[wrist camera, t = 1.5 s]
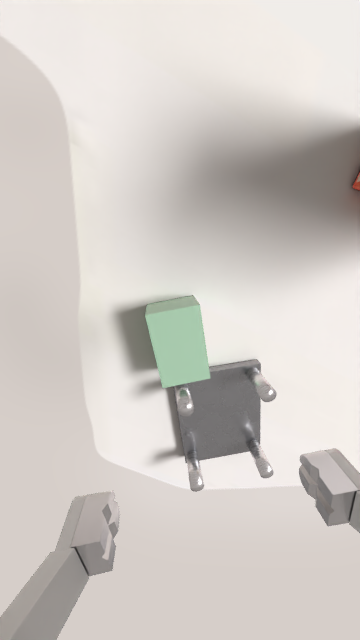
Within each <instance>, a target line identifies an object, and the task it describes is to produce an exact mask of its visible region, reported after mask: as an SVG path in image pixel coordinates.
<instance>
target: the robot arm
mask: <svg viewBox="0 0 360 640" xmlns="http://www.w3.org/2000/svg"><path fill="white" fill-rule="evenodd" d="M300 462H301V463H302V465H301V466H300V468H299V475H300V479H301V482H302V484H303V486H304V488H305V490H306V492H307V493H308V494H309V495H310V496H311V497H313V498H314V499H315V505H316V508H317V509H318V511H319V513H320V514H321V516H322V518H323V519H324V521H325V523H326V524H327V526H332V525H338V524H344V523H349V524H350V525H351V526H352V527H353V528H354V529H356V530H357V531H358V532H359V533H360V473H359V472H358V471H357V470H356V469H355V468H354V466H353V465H352V464H351V463H350V462H349V461H348V460H347V459H346V458H345V457H344V455H343V454H342V453H341V452H340V451H339V450H337V449H334V448H333V449H328V450H322V451H317V452H312V453H307V454H302V455H301V456H300ZM114 498H115V494H114V492H113V490H112V491H107V492H101V493H95V494H90V495H83V496H78V497H75V498H74V500H73V501H72V503H71V506H70V509H69V512H68V515H67V518H66V521H65V523H64V526H63V529H62V532H61V535H60V538H59V541H58V543H57V546H56V549H55V551H54V552H51V553H50V554H49V555H48V556H47V558H46V559H45V560H44V562H43V563H42V564H41V565H40V567H39V568H38V569H37V571H36V572H35V573H34V574H33V576H32V577H31V578H30V580H29V581H28V582H27V583H26V585H25V586H24V587H23V589H22V590H21V591H20V593H19V594H18V595H17V596H16V598H15V599H14V600H13V602H12V603H11V604H10V606H9V607H8V608H7V609H6V611H5V612H4V613H3V615H2V616H1V617H0V640H56V639H57V637H58V636H59V634H60V632H61V630H62V628H63V626H64V624H65V622H66V621H67V619H68V617H69V615H70V613H71V611H72V609H73V607H74V606H75V604H76V602H77V600H78V598H79V596H80V594H81V592H82V591H83V589H84V587H85V585H86V583H87V581H88V579H89V577H88V576H92V575H96V574H101V573H105V572H109V571H112V569H113V562H114V556H115V548H116V546H115V543H114V540H113V539H114V537H115V535H116V534H117V532H118V527H119V506H118V503H117V502H116V501H114Z"/></svg>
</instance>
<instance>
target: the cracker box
mask: <svg viewBox="0 0 360 640" xmlns="http://www.w3.org/2000/svg"><path fill="white" fill-rule="evenodd" d="M352 188H354V189H357V190H359V191H360V172H359V174H358V176H357V178H356V180H355V182H354V184H353V186H352Z"/></svg>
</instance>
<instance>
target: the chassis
mask: <svg viewBox="0 0 360 640" xmlns="http://www.w3.org/2000/svg"><path fill="white" fill-rule="evenodd" d="M209 372H210V379H205V380H200V381H195V382H191V383H186V384H181V385H176V386H173V387H174V393H175V399H176V405H177V412H178V418H179V424H180V430H181V436H182V442H183V448H184V455H185V461H186V463H187V466H188V473H189V481H190V488H191V490H192V491H200V490H202V489H203V487H204V484H203V479H202V474H201V469H200V463H199V461H200V460H205V459H210V458H216V457H221V456H227V455H232V454H237V453H243V452H248V451H250V453H251V455H252V457H253V459H254V462H255V464H256V466H257V468H258V471H259V473H260V475H261V477H262V478H269V477H271V476H272V475H273V470H272V468H271V466H270V464H269V462H268V460H267V458H266V456H265V454H264V452H263V450H262V448H261V446H260V397H261V399H262V400H263V401H264V402H270V401H272V400H274V399H275V397H276V391H275V390H274V389H273V388H272V386H271V385H270V384H269V383H268V382H267V380H266V379H265V378H264V377H263V375H262V374H261V364H260V362H259V361H258V360H257V359H256V360H250V361H244V362H238V363H232V364H225V365H219V366H213V367H209Z"/></svg>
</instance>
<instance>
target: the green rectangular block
mask: <svg viewBox="0 0 360 640" xmlns="http://www.w3.org/2000/svg"><path fill="white" fill-rule="evenodd" d="M145 318H146V322H147V326H148V330H149V334H150V338H151V342H152V346H153V350H154V354H155V359H156V363H157V367H158V371H159V375H160V379H161V383H162V387H163V388H166V387H171V386H176V385H181V384H186V383H191V382H195V381H200V380H205V379H210V372H209V365H208V358H207V351H206V344H205V337H204V331H203V324H202V317H201V310H200V304H199V303H198V301H197V300H196V299H195V297H194V296H187V297H182V298H177V299H172V300H167V301H161V302H156V303H151V304H147V307H146V312H145Z"/></svg>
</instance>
